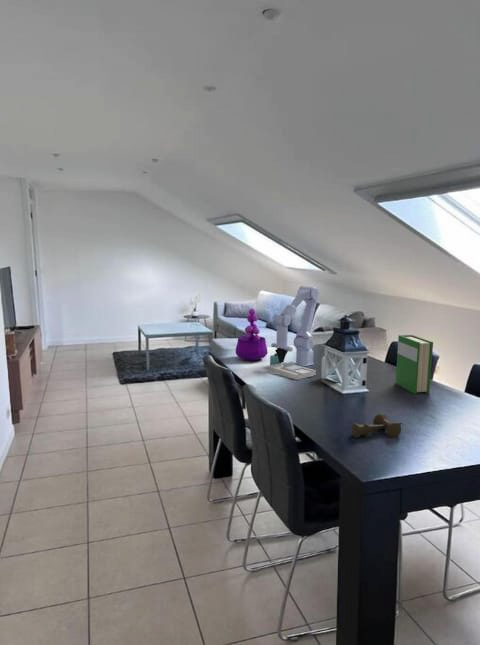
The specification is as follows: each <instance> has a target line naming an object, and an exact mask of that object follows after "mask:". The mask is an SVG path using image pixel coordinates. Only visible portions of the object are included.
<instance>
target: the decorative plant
mask: <svg viewBox="0 0 480 645" xmlns="http://www.w3.org/2000/svg"><path fill="white" fill-rule="evenodd" d="M248 314H249V315H248V316H247V317H246V320H247V322H248V323H249V325H247V326H246V327H245V329H244V332H245V333H244V334H245V335H243V336H239V337H238V338H237V344H236V347H235V354H236V356H237V357H238V358H239V359H242V360H246V361H257V360H258V361H259V360H261V359H264V358H266V356H267V355H268V347H267V342H266V337H264V336H259V334H260V333H261V332H260V329H259V328H258V325H257V324H256V323H255V322H257V321H258V320H259V317H258V316H257V315H256V310H255V309H254V308H250V309H249V310H248Z"/></svg>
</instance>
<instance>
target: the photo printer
mask: <svg viewBox="0 0 480 645" xmlns="http://www.w3.org/2000/svg"><path fill="white" fill-rule="evenodd" d="M325 356H326V355H325ZM325 356H323V357H322V358H321V372H320V373H321V375H320V376H321V379H322V380H324V379H323V378H324V376H325Z"/></svg>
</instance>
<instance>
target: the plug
mask: <svg viewBox="0 0 480 645" xmlns="http://www.w3.org/2000/svg"><path fill="white" fill-rule="evenodd" d="M275 364H280V362H279V359H278V355H277V353H276V352H275V353H274V354H271V355H269V366H270V365H275Z"/></svg>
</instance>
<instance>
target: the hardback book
mask: <svg viewBox="0 0 480 645" xmlns="http://www.w3.org/2000/svg"><path fill="white" fill-rule="evenodd" d="M397 339H398V340H397V353H396V354H397V355H396V373H395V384H396V385H398V386H400V387H401V388H403V389H405V390H406V391H408V392H410V393H411V394H414V395H417V393H426V394H430V389H431V379H432V378H431V376H432V375H431V374H432V364H433V349H434V341H432V340H429V339H425V338H423V337H419V336H417V335H414V334H398V338H397Z"/></svg>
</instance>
